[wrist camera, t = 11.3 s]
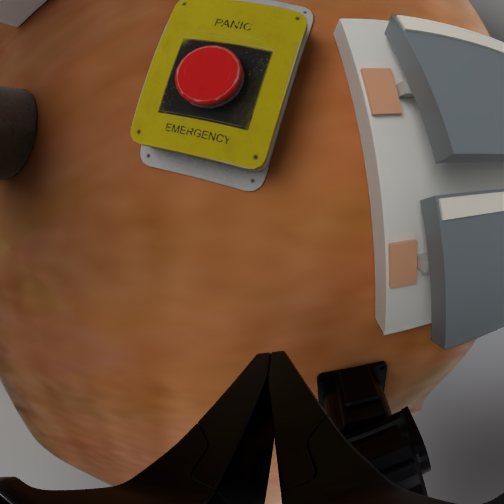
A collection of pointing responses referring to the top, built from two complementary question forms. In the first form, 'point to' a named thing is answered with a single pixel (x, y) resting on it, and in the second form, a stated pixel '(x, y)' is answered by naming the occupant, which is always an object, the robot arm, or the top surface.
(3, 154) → the pillar candle
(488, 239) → the block
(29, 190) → the top surface
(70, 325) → the top surface
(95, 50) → the top surface
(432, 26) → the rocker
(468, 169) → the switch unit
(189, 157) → the emergency button
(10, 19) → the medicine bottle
